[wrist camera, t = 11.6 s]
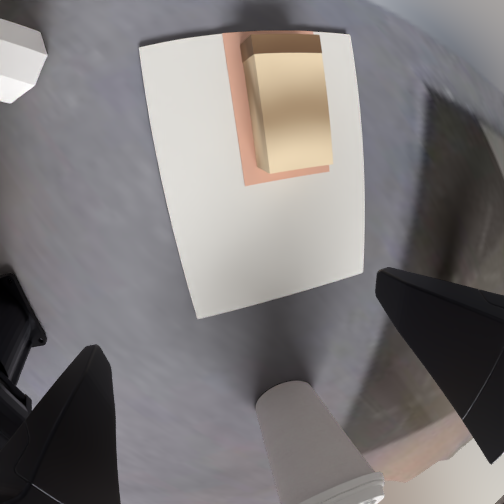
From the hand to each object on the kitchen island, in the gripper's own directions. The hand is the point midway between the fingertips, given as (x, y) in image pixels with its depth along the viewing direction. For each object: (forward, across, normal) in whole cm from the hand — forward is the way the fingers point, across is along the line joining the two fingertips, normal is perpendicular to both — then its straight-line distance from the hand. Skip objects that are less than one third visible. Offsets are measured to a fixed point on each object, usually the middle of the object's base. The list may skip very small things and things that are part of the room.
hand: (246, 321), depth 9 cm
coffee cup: (+12, -4, +22) cm, 25 cm away
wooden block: (+12, -6, -6) cm, 14 cm away
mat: (+12, -5, -2) cm, 13 cm away
